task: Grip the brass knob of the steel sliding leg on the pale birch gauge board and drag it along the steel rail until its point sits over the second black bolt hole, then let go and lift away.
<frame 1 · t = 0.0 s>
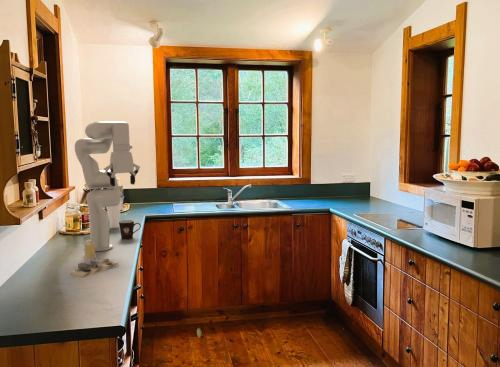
hand: (122, 185, 212), 37 cm above the worktop, fingers open, 9 cm apart
sliding leg: (92, 255, 204), point 7 cm above the worktop, slide at 0.0 cm
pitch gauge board: (95, 269, 206), on the worktop
coffee mug: (129, 238, 264), on the worktop
cup: (114, 227, 294), on the worktop
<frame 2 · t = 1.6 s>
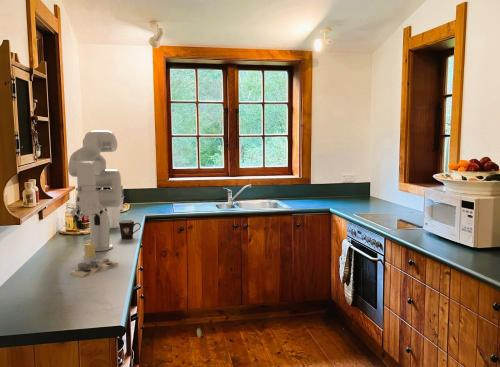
hand: (88, 227, 203), 20 cm above the worktop, fingers open, 9 cm apart
nothing on the worktop moved.
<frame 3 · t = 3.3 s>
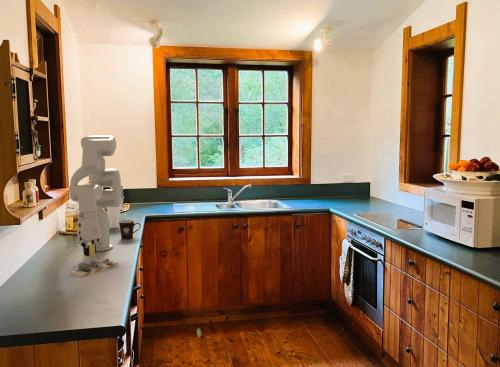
hand: (90, 254, 205), 7 cm above the worktop, fingers closed on sliding leg, 3 cm apart
sliding leg: (92, 255, 204), point 7 cm above the worktop, slide at 0.0 cm, touching gripper
everything else where it was.
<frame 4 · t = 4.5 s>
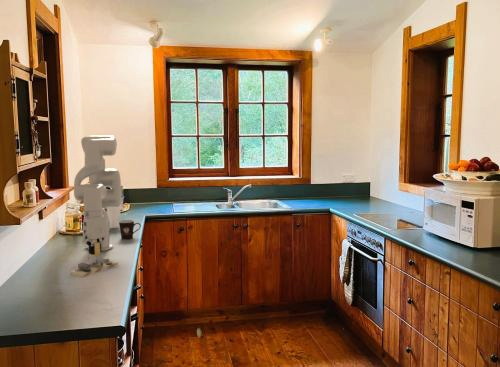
hand: (95, 252, 207), 7 cm above the worktop, fingers closed on sliding leg, 3 cm apart
sliding leg: (97, 253, 206), point 7 cm above the worktop, slide at 2.9 cm, touching gripper
everything else where it was.
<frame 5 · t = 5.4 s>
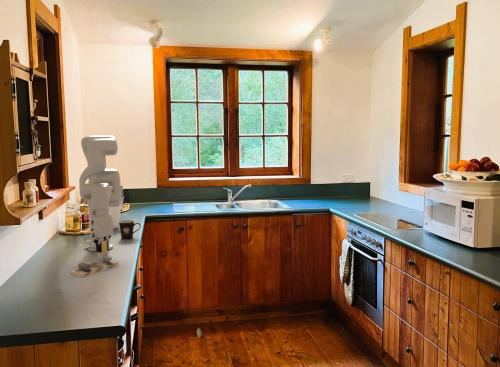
hand: (102, 250, 211), 7 cm above the worktop, fingers closed on sliding leg, 3 cm apart
sliding leg: (104, 251, 210), point 7 cm above the worktop, slide at 6.9 cm, touching gripper
everything else where it was.
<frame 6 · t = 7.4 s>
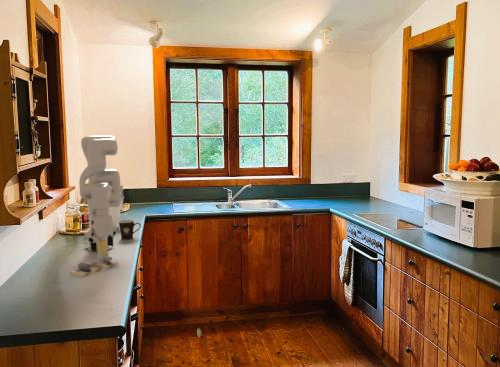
hand: (102, 248, 211), 8 cm above the worktop, fingers open, 9 cm apart
sliding leg: (104, 251, 210), point 7 cm above the worktop, slide at 7.0 cm
everything else where it was.
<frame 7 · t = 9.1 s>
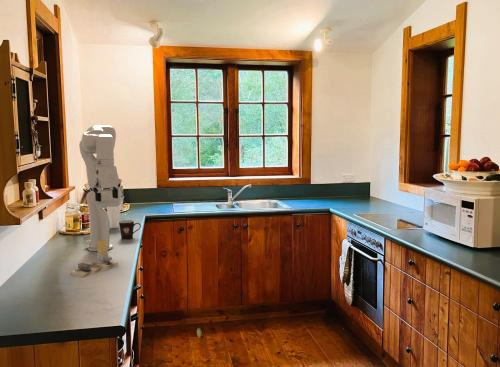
hand: (107, 199, 209), 31 cm above the worktop, fingers open, 9 cm apart
nothing on the worktop moved.
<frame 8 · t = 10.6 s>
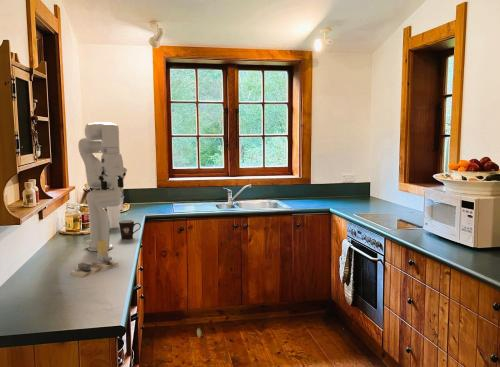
hand: (112, 188, 208), 36 cm above the worktop, fingers open, 9 cm apart
nothing on the worktop moved.
at the end: sliding leg slide at 7.0 cm; the gripper is holding nothing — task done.
